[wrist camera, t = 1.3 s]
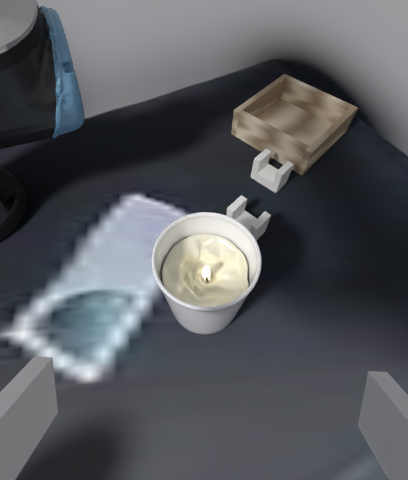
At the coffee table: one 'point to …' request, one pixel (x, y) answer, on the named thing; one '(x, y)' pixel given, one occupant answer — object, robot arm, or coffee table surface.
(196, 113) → the coffee table surface
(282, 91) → the square wooden tray
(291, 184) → the coffee table surface
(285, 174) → the clips
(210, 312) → the candle holder
